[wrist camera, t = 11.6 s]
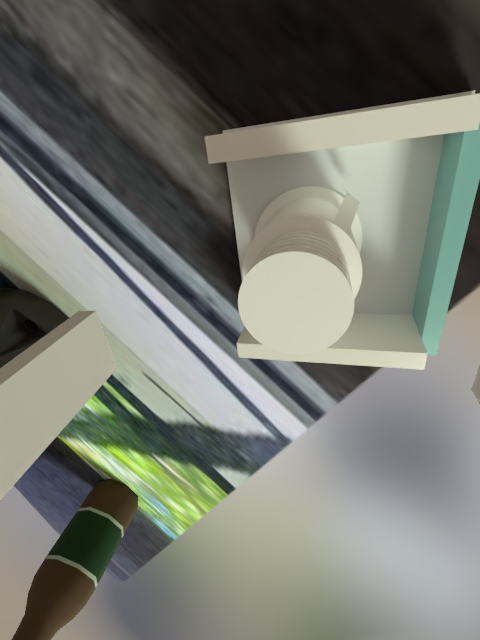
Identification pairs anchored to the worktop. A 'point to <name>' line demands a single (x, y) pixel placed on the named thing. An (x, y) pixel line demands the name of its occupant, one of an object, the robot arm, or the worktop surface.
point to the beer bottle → (77, 560)
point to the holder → (371, 212)
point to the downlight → (302, 271)
